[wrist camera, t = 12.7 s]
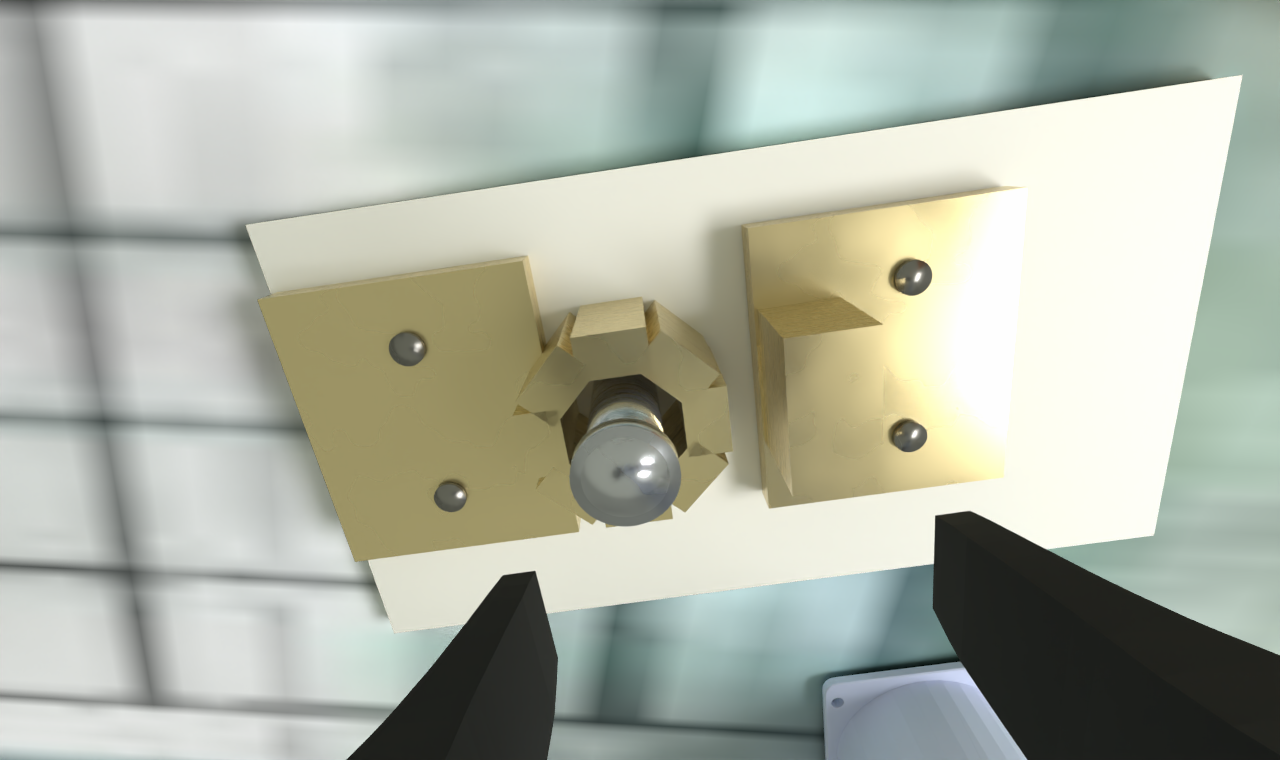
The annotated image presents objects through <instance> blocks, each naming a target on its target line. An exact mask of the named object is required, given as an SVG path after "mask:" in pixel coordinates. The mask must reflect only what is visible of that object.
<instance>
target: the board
mask: <svg viewBox="0 0 1280 760" xmlns="http://www.w3.org/2000/svg"><path fill="white" fill-rule="evenodd" d="M1241 80H1242V75H1239V76H1232V77H1225V78H1218V79H1211V80H1204V81H1198V82H1191V83H1184V84H1178V85H1171V86H1164V87H1158V88H1151V89H1144V90H1138V91H1131V92H1125V93H1118V94H1111V95H1105V96H1098V97H1091V98H1085V99H1078V100H1071V101H1065V102H1058V103H1051V104H1045V105H1038V106H1031V107H1025V108H1018V109H1011V110H1005V111H998V112H991V113H985V114H978V115H972V116H965V117H958V118H952V119H945V120H938V121H932V122H925V123H918V124H912V125H905V126H898V127H892V128H885V129H878V130H872V131H865V132H858V133H852V134H845V135H839V136H832V137H825V138H819V139H812V140H805V141H799V142H792V143H785V144H779V145H772V146H765V147H759V148H752V149H745V150H739V151H732V152H725V153H719V154H712V155H706V156H699V157H692V158H686V159H679V160H672V161H666V162H659V163H652V164H646V165H639V166H632V167H626V168H619V169H612V170H606V171H599V172H592V173H586V174H579V175H572V176H566V177H559V178H553V179H546V180H539V181H533V182H526V183H519V184H513V185H506V186H499V187H493V188H486V189H479V190H473V191H466V192H459V193H453V194H446V195H439V196H433V197H426V198H420V199H413V200H406V201H400V202H393V203H386V204H380V205H373V206H366V207H360V208H353V209H346V210H340V211H333V212H326V213H320V214H313V215H306V216H300V217H293V218H286V219H280V220H273V221H267V222H260V223H254V224H248V225H246V228H247V230H248V233H249V236H250V239H251V241H252V244H253V247H254V250H255V252H256V255H257V258H258V261H259V263H260V266H261V269H262V272H263V274H264V277H265V280H266V283H267V285H268V288H269V291H270V294H274V293H277V292H283V291H290V290H296V289H303V288H310V287H317V286H324V285H330V284H337V283H344V282H351V281H358V280H365V279H371V278H378V277H385V276H392V275H399V274H405V273H412V272H419V271H426V270H433V269H440V268H446V267H453V266H460V265H467V264H474V263H480V262H487V261H494V260H501V259H508V258H514V257H521V256H528V257H529V262H530V267H531V272H532V277H533V281H534V286H535V291H536V296H537V301H538V306H539V311H540V316H541V320H542V325H543V330H544V335H545V340H546V344H547V342H548V341H549V339H550V338H551V337H552V335H553V334H554V333H555V331H556V330H557V328H558V327H559V326H560V324H561V323H562V322H563V320H564V319H565V317H566V316H567V315H568V313H569V312H570V313H572V314H573V315H574V316H576V317H577V314H578V311H579V308H580V306H581V305H588V304H595V303H602V302H609V301H616V300H622V299H629V298H636V297H642V299H643V306H644V313H645V312H646V310H647V309H648V308H649V306H650V305H651V304H652V302H653V301H654V300H656V301H657V302H658V303H660V304H661V305H662V306H664V307H665V308H666V309H668V310H669V311H670V312H672V313H673V314H674V315H676V316H677V317H679V318H680V319H681V320H683V321H684V322H685V323H687V324H688V325H689V326H691V327H692V328H693V329H695V330H696V331H697V332H699V333H700V334H701V335H703V337H704V339H705V341H706V343H707V346H709V347H710V349H711V352H712V354H713V356H714V358H715V361H716V363H717V365H718V367H719V370H720V372H721V374H722V376H723V378H724V381H725V383H726V385H727V393H728V403H729V414H730V424H731V434H732V445H733V452H725V454H726V457H727V460H728V463H729V464H728V465H727V467H726V468H725V469H724V470H723V471H722V472H721V473H720V474H719V475H718V477H717V478H716V479H715V480H714V481H713V482H712V483H711V484H710V486H709V487H708V488H707V489H706V490H705V491H704V492H703V493H702V494H701V496H700V497H699V498H698V499H697V500H696V501H695V502H694V503H693V504H692V506H691V507H690V508H689V509H688V510H687V511H686V512H683V511H682V510H680V509H679V508H677V507H676V506H674V505H673V504H672V505H671V507H672V515H673V519H668V520H661V521H653V522H647V523H644V524H641V525H637V526H627V527H622V526H616V527H608V528H606V525H605V523H603V522H600V521H598V520H596V521H595V523H594V524H593V525H592V524H590V523H588V522H587V521H585V520H583V519H582V518H581V522H580V530H579V532H576V533H568V534H561V535H553V536H546V537H538V538H531V539H523V540H516V541H508V542H501V543H493V544H486V545H478V546H471V547H463V548H456V549H448V550H441V551H433V552H425V553H418V554H410V555H403V556H395V557H388V558H380V559H373V560H368V563H369V566H370V568H371V571H372V574H373V577H374V579H375V582H376V585H377V588H378V590H379V593H380V596H381V598H382V601H383V604H384V607H385V609H386V612H387V615H388V618H389V620H390V623H391V626H392V629H393V631H394V633H401V632H409V631H416V630H424V629H432V628H440V627H447V626H455V625H463V624H466V622H467V621H468V620H469V618H470V617H471V616H472V614H473V613H474V612H475V610H476V609H477V608H478V606H479V605H480V604H481V602H482V601H483V600H484V599H485V597H486V596H487V595H488V593H489V592H490V591H491V589H492V588H493V587H494V586H495V584H496V583H497V582H498V581H499V579H500V578H501V577H502V575H508V574H515V573H522V572H529V571H536V575H537V579H538V583H539V586H540V590H541V594H542V598H543V602H544V606H545V610H546V614H548V613H556V612H564V611H571V610H579V609H587V608H595V607H602V606H610V605H618V604H626V603H633V602H641V601H649V600H657V599H664V598H672V597H680V596H688V595H695V594H703V593H711V592H719V591H726V590H734V589H742V588H750V587H757V586H765V585H773V584H781V583H788V582H796V581H804V580H812V579H819V578H827V577H835V576H842V575H850V574H858V573H866V572H873V571H881V570H889V569H897V568H904V567H912V566H920V565H928V564H934V538H935V515H942V514H950V513H957V512H964V511H972V512H974V513H976V514H978V515H980V516H983V517H985V518H987V519H989V520H991V521H993V522H995V523H997V524H999V525H1001V526H1002V527H1004V528H1006V529H1008V530H1010V531H1012V532H1014V533H1016V534H1018V535H1020V536H1022V537H1024V538H1026V539H1027V540H1029V541H1031V542H1033V543H1035V544H1037V545H1039V546H1041V547H1043V548H1045V549H1052V548H1059V547H1067V546H1075V545H1083V544H1090V543H1098V542H1106V541H1114V540H1121V539H1129V538H1137V537H1145V536H1152V535H1154V532H1155V527H1156V522H1157V516H1158V511H1159V506H1160V501H1161V496H1162V490H1163V485H1164V480H1165V475H1166V470H1167V465H1168V459H1169V454H1170V449H1171V444H1172V439H1173V433H1174V428H1175V423H1176V418H1177V413H1178V407H1179V402H1180V397H1181V392H1182V387H1183V381H1184V376H1185V371H1186V366H1187V361H1188V356H1189V350H1190V345H1191V340H1192V335H1193V330H1194V324H1195V319H1196V314H1197V309H1198V304H1199V298H1200V293H1201V288H1202V283H1203V278H1204V273H1205V267H1206V262H1207V257H1208V252H1209V247H1210V241H1211V236H1212V231H1213V226H1214V221H1215V215H1216V210H1217V205H1218V200H1219V195H1220V189H1221V184H1222V179H1223V174H1224V169H1225V164H1226V158H1227V153H1228V148H1229V143H1230V138H1231V132H1232V127H1233V122H1234V117H1235V112H1236V106H1237V101H1238V96H1239V91H1240V86H1241ZM1001 186H1015V187H1028V192H1027V204H1026V216H1025V228H1024V240H1023V252H1022V263H1021V275H1020V287H1019V299H1018V311H1017V323H1016V335H1015V347H1014V359H1013V371H1012V382H1011V394H1010V406H1009V418H1008V430H1007V442H1006V454H1005V466H1004V477H1003V478H996V479H988V480H981V481H973V482H966V483H958V484H951V485H943V486H936V487H928V488H921V489H913V490H906V491H898V492H890V493H883V494H875V495H868V496H860V497H853V498H845V499H838V500H830V501H823V502H815V503H808V504H800V505H793V506H785V507H777V508H770V509H769V508H768V505H767V503H766V500H765V498H764V495H763V493H762V482H761V470H760V457H759V444H758V432H757V419H756V407H755V394H754V381H753V369H752V356H751V343H750V331H749V318H748V305H747V293H746V280H745V267H744V255H743V242H742V229H741V225H742V224H749V223H756V222H763V221H770V220H776V219H783V218H790V217H797V216H804V215H810V214H817V213H824V212H831V211H838V210H845V209H851V208H858V207H865V206H872V205H879V204H885V203H892V202H899V201H906V200H913V199H919V198H926V197H933V196H940V195H947V194H954V193H960V192H967V191H974V190H981V189H988V188H994V187H1001ZM593 383H594V381H589V382H588V384H587V385H586V386H585V388H584V389H583V390H582V392H581V393H580V394H579V395H578V397H577V398H576V399H577V404H578V409H579V412H580V413H581V414H583V415H584V416H586V417H587V418H589V412H590V405H591V397H592V390H593ZM656 386H657V393H658V399H659V406H660V412H661V417H662V416H663V415H664V414H665V413H666V411H667V410H668V409H669V408H670V407H671V405H672V404H673V403H674V402H675V400H676V398H675V397H673V396H672V395H670V394H669V393H667V392H666V391H665V390H663V389H662V388H660V387H659V386H658V385H656Z"/></svg>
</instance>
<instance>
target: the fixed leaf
mask: <svg viewBox="0 0 1280 760" xmlns="http://www.w3.org/2000/svg"><path fill="white" fill-rule="evenodd" d="M258 303H259V306H260V308H261V311H262V314H263V316H264V319H265V322H266V324H267V327H268V330H269V333H270V335H271V338H272V341H273V343H274V346H275V349H276V351H277V354H278V357H279V359H280V362H281V365H282V367H283V370H284V373H285V375H286V378H287V381H288V383H289V386H290V389H291V391H292V394H293V397H294V399H295V402H296V405H297V408H298V410H299V413H300V416H301V418H302V421H303V424H304V426H305V429H306V432H307V434H308V437H309V440H310V442H311V445H312V448H313V450H314V453H315V456H316V458H317V461H318V464H319V466H320V469H321V472H322V474H323V477H324V480H325V482H326V485H327V488H328V491H329V493H330V496H331V499H332V501H333V504H334V507H335V509H336V512H337V515H338V517H339V520H340V523H341V525H342V528H343V531H344V533H345V536H346V539H347V541H348V544H349V547H350V549H351V552H352V555H353V557H354V560H355V562H358V561H365V560H373V559H380V558H388V557H395V556H403V555H410V554H418V553H425V552H433V551H441V550H448V549H456V548H463V547H471V546H478V545H486V544H493V543H501V542H508V541H516V540H523V539H531V538H538V537H546V536H553V535H561V534H568V533H576V532H579V530H580V522H581V518H582V519H583V520H585V521H587V522H588V523H590V524H592V525H593V524H594V523H595V521H596V519H594V518H593V517H591V516H590V515H589V514H587V513H586V512H585V511H584V510H583V509H582V508H581V507H580V506H579V504H578V503H577V501H576V500H575V498H574V496H573V493H572V491H571V487H570V479H569V475H570V467H571V461H572V457H573V453H574V451H575V448H576V446H577V444H578V443H579V441H580V440H581V439H582V437H583V436H584V435H585V434H586V433H587V426H588V419H589V418H587V417H586V416H584V415H583V414H581V413H580V412H579V409H578V404H577V399H576V398H577V397H578V395H579V394H580V393H581V392H582V390H583V389H584V388H585V386H586V385H587V384H588V382H589V381H594V380H601V379H608V378H616V377H623V376H630V375H637V374H642V375H643V376H645V377H646V378H648V379H649V380H650V381H652V382H653V383H655V384H656V385H658V386H659V387H660V388H662V389H663V390H665V391H666V392H667V393H669V394H670V395H672V396H673V397H675V398H676V400H675V402H674V403H673V404H672V405H671V407H670V408H669V409H668V410H667V411H666V413H665V414H664V415H663V416H662V417H661V419H662V425H663V432H664V433H665V434H666V435H667V436H668V438H669V439H670V440H671V442H672V443H673V445H674V447H675V449H676V451H677V454H678V458H679V463H680V469H681V484H680V489H679V492H678V494H677V496H676V499H675V500H674V502H673V503H672V504H673V505H674V506H676V507H677V508H679V509H680V510H682V511H683V512H686V511H687V510H688V509H689V508H690V507H691V506H692V504H693V503H694V502H695V501H696V500H697V499H698V498H699V497H700V496H701V494H702V493H703V492H704V491H705V490H706V489H707V488H708V487H709V486H710V484H711V483H712V482H713V481H714V480H715V479H716V478H717V477H718V475H719V474H720V473H721V472H722V471H723V470H724V469H725V468H726V467H727V465H728V464H729V463H728V460H727V457H726V454H725V452H733V445H732V434H731V424H730V414H729V403H728V393H727V385H726V383H725V381H724V378H723V376H722V374H721V372H720V370H719V367H718V365H717V363H716V361H715V358H714V356H713V354H712V352H711V349H710V347H709V346H707V343H706V341H705V339H704V337H703V335H701V334H700V333H699V332H697V331H696V330H695V329H693V328H692V327H691V326H689V325H688V324H687V323H685V322H684V321H683V320H681V319H680V318H679V317H677V316H676V315H674V314H673V313H672V312H670V311H669V310H668V309H666V308H665V307H664V306H662V305H661V304H660V303H658V302H657V301H656V300H654V301H653V302H652V304H651V305H650V306H649V308H648V309H647V310H646V312H645V313H644V306H643V299H642V297H636V298H629V299H622V300H616V301H609V302H602V303H595V304H588V305H581V306H580V308H579V311H578V314H577V317H576V316H574V315H573V314H572V313H570V312H569V313H568V315H567V316H566V317H565V319H564V320H563V322H562V323H561V324H560V326H559V327H558V328H557V330H556V331H555V333H554V334H553V335H552V337H551V338H550V339H549V341H548V342H547V344H546V340H545V335H544V330H543V325H542V320H541V316H540V311H539V306H538V301H537V296H536V291H535V286H534V281H533V277H532V272H531V267H530V262H529V257H528V256H521V257H514V258H508V259H501V260H494V261H487V262H480V263H474V264H467V265H460V266H453V267H446V268H440V269H433V270H426V271H419V272H412V273H405V274H399V275H392V276H385V277H378V278H371V279H365V280H358V281H351V282H344V283H337V284H330V285H324V286H317V287H310V288H303V289H296V290H290V291H283V292H277V293H274V294H271V295H269V296H266V297H263V298H261V299H258ZM668 519H673V515H672V507H671V506H670V507H669V508H668V509H667V510H666V511H665V512H664V513H663V514H662V515H660V516H659V517H657V518H656V519H654V520H652V521H650V522H653V521H661V520H668ZM605 525H606V528H608V527H616V526H614V525H609V524H606V523H605Z"/></svg>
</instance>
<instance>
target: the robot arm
mask: <svg viewBox="0 0 1280 760" xmlns="http://www.w3.org/2000/svg"><path fill="white" fill-rule="evenodd" d="M933 609H934V611H935V613H936V615H937V617H938V619H939V621H940V623H941V625H942V627H943V629H944V631H945V633H946V635H947V637H948V639H949V641H950V643H951V645H952V647H953V648H954V650H955V652H956V654H957V656H958V658H959V660H960V661H961V662H953V663H945V664H937V665H929V666H921V667H912V668H904V669H896V670H888V671H880V672H872V673H864V674H856V675H848V676H840V677H833V678H829V679H828V680H826V681H825V682H824V684H823V687H822V695H823V718H824V741H825V760H1280V655H1277V654H1275V653H1272V652H1270V651H1267V650H1265V649H1262V648H1260V647H1257V646H1255V645H1252V644H1250V643H1247V642H1245V641H1242V640H1240V639H1237V638H1235V637H1232V636H1230V635H1227V634H1225V633H1222V632H1220V631H1217V630H1215V629H1212V628H1210V627H1208V626H1205V625H1203V624H1201V623H1198V622H1196V621H1194V620H1191V619H1189V618H1187V617H1185V616H1182V615H1180V614H1178V613H1176V612H1174V611H1171V610H1169V609H1167V608H1165V607H1163V606H1160V605H1158V604H1156V603H1154V602H1152V601H1150V600H1147V599H1145V598H1143V597H1141V596H1139V595H1136V594H1134V593H1132V592H1130V591H1128V590H1126V589H1124V588H1122V587H1120V586H1118V585H1116V584H1114V583H1111V582H1109V581H1107V580H1105V579H1103V578H1101V577H1099V576H1097V575H1095V574H1093V573H1091V572H1089V571H1087V570H1085V569H1083V568H1081V567H1079V566H1077V565H1076V564H1074V563H1072V562H1070V561H1068V560H1066V559H1064V558H1062V557H1060V556H1058V555H1056V554H1054V553H1052V552H1050V551H1048V550H1046V549H1045V548H1043V547H1041V546H1039V545H1037V544H1035V543H1033V542H1031V541H1029V540H1027V539H1026V538H1024V537H1022V536H1020V535H1018V534H1016V533H1014V532H1012V531H1010V530H1008V529H1006V528H1004V527H1002V526H1001V525H999V524H997V523H995V522H993V521H991V520H989V519H987V518H985V517H983V516H980V515H978V514H976V513H974V512H972V511H964V512H957V513H950V514H942V515H935V538H934V579H933ZM557 664H558V657H557V653H556V649H555V645H554V641H553V637H552V633H551V629H550V625H549V621H548V618H547V614H546V610H545V606H544V602H543V598H542V594H541V590H540V586H539V583H538V579H537V575H536V571H529V572H522V573H515V574H508V575H502V577H501V578H500V579H499V581H498V582H497V583H496V584H495V586H494V587H493V588H492V589H491V591H490V592H489V593H488V595H487V596H486V597H485V599H484V600H483V601H482V602H481V604H480V605H479V606H478V608H477V609H476V610H475V612H474V613H473V614H472V616H471V617H470V618H469V620H468V621H467V622H466V624H465V625H464V626H463V628H462V629H461V630H460V631H459V633H458V634H457V635H456V637H455V638H454V639H453V640H452V642H451V643H450V644H449V645H448V647H447V648H446V649H445V650H444V652H443V653H442V654H441V656H440V657H439V658H438V659H437V661H436V662H435V663H434V664H433V666H432V667H431V668H430V669H429V670H428V672H427V673H426V674H425V675H424V676H423V677H422V679H421V680H420V681H419V682H418V683H417V684H416V686H415V687H414V688H413V689H412V690H411V691H410V693H409V694H408V695H407V696H406V697H405V698H404V700H403V701H402V702H401V703H400V704H399V705H398V706H397V708H396V709H395V710H394V711H393V712H392V713H391V714H390V715H389V717H388V718H387V719H386V720H385V721H384V722H383V723H382V724H381V725H380V726H379V727H378V728H377V729H376V730H375V731H374V733H373V734H372V735H371V736H370V737H369V738H368V739H367V740H366V741H365V742H364V743H363V744H362V745H361V746H360V747H359V748H358V749H357V750H356V751H355V752H354V753H353V754H352V755H351V756H350V757H349V758H348V759H347V760H547V756H548V750H549V745H550V739H551V733H552V727H553V721H554V714H555V700H556V684H557ZM836 698H837V699H836Z"/></svg>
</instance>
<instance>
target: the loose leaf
mask: <svg viewBox="0 0 1280 760" xmlns="http://www.w3.org/2000/svg"><path fill="white" fill-rule="evenodd" d="M1027 192H1028V187H1015V186H1001V187H994V188H988V189H981V190H974V191H967V192H960V193H954V194H947V195H940V196H933V197H926V198H919V199H913V200H906V201H899V202H892V203H885V204H879V205H872V206H865V207H858V208H851V209H845V210H838V211H831V212H824V213H817V214H810V215H804V216H797V217H790V218H783V219H776V220H770V221H763V222H756V223H749V224H742V225H741V229H742V242H743V255H744V267H745V280H746V293H747V305H748V318H749V331H750V343H751V356H752V369H753V381H754V394H755V407H756V419H757V432H758V444H759V457H760V470H761V482H762V493H763V495H764V498H765V500H766V503H767V505H768V508H769V509H770V508H777V507H785V506H793V505H800V504H808V503H815V502H823V501H830V500H838V499H845V498H853V497H860V496H868V495H875V494H883V493H890V492H898V491H906V490H913V489H921V488H928V487H936V486H943V485H951V484H958V483H966V482H973V481H981V480H988V479H996V478H1003V477H1004V466H1005V454H1006V442H1007V430H1008V418H1009V406H1010V394H1011V382H1012V371H1013V359H1014V347H1015V335H1016V323H1017V311H1018V299H1019V287H1020V275H1021V263H1022V252H1023V240H1024V228H1025V216H1026V204H1027Z"/></svg>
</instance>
